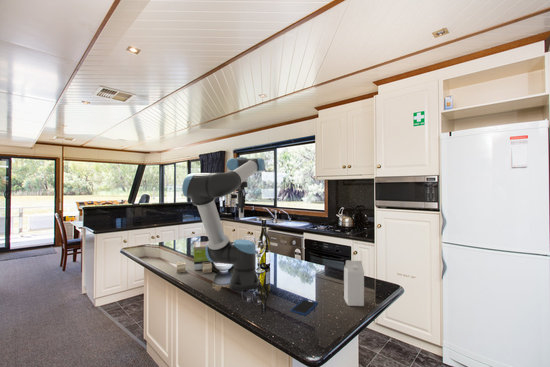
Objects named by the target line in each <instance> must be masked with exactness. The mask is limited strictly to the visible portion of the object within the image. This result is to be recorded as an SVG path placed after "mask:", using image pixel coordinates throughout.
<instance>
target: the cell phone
mask: <svg viewBox="0 0 550 367" xmlns="http://www.w3.org/2000/svg"><path fill="white" fill-rule="evenodd" d="M318 304H319V302H317V301H314V300H311V299H307V298H304V299H301V301H299V302H298V303H297V304H296V305H295V306H294V307H292V308H291V309H290V312H291V311H292V312H291V313H293V312H295V313H294V314H296V313H298V314H297V315H301V316H303V315H304V316H307V315H308V314H310V313H311V311H312V310H313V309H314V308H316V306H317V305H318Z"/></svg>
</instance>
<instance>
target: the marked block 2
mask: <svg viewBox="0 0 550 367" xmlns="http://www.w3.org/2000/svg"><path fill="white" fill-rule="evenodd" d="M212 268H213V264H212V262H211V261H210V262H203V265H202V269H201V270H202V273H203V274H206V273H212V271H213V269H212Z"/></svg>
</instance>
